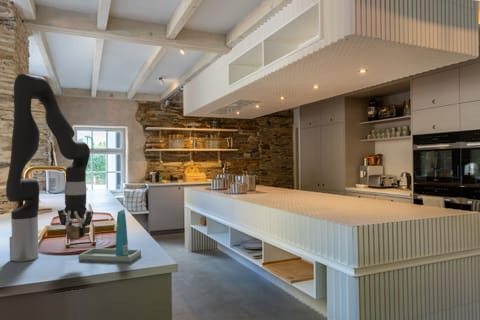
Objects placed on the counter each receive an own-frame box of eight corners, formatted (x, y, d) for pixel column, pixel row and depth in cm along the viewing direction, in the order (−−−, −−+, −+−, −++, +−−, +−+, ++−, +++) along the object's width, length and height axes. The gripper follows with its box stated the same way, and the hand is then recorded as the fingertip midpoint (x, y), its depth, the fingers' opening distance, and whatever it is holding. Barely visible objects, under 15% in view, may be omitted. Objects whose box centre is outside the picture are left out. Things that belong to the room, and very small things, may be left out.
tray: (78, 261, 138) (78, 254, 138) (92, 253, 147) (92, 248, 147) (130, 263, 134) (130, 257, 134) (141, 255, 144) (141, 249, 144)
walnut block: (66, 239, 131) (66, 226, 131) (73, 236, 135) (73, 223, 135) (77, 239, 130) (77, 226, 130) (84, 236, 135) (84, 224, 134)
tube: (118, 254, 144) (117, 209, 143) (130, 254, 144) (129, 208, 144) (113, 259, 136) (112, 212, 136) (125, 259, 137) (125, 211, 136)
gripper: (52, 193, 129) (52, 238, 130) (87, 194, 127) (87, 240, 128) (64, 190, 137) (64, 233, 137) (98, 192, 135) (97, 235, 136)
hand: (75, 236), depth 133 cm, fingers closed on walnut block, 4 cm apart
